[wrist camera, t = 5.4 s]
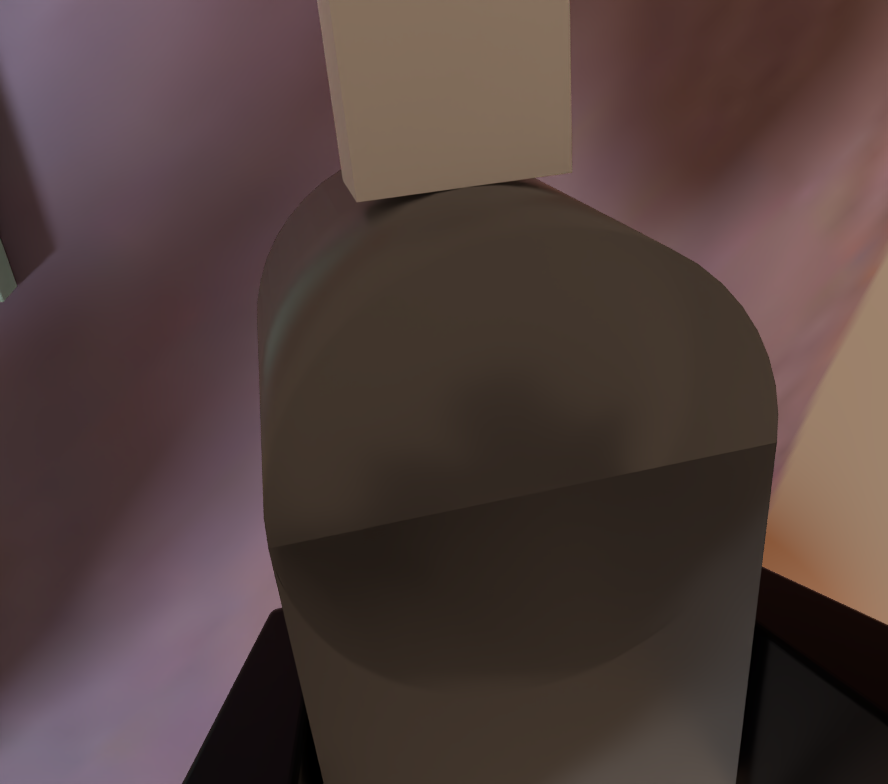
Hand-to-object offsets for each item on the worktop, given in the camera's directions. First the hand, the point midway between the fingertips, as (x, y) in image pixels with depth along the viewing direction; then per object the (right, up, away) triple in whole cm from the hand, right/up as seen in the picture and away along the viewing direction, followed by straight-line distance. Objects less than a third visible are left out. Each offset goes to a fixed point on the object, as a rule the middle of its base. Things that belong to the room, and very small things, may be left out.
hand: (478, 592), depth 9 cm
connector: (0, +2, +1) cm, 2 cm away
